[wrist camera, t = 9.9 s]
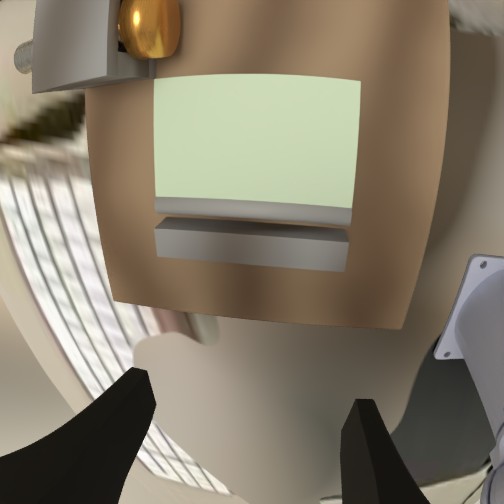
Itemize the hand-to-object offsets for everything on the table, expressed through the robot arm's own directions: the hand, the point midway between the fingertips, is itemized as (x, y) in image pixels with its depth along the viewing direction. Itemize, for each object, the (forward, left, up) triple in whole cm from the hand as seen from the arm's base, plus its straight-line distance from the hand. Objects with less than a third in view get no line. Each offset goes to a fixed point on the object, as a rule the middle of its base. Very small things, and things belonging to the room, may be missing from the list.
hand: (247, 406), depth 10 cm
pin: (+8, -13, -8) cm, 17 cm away
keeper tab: (+1, -7, -8) cm, 11 cm away
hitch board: (+1, -9, -9) cm, 12 cm away
